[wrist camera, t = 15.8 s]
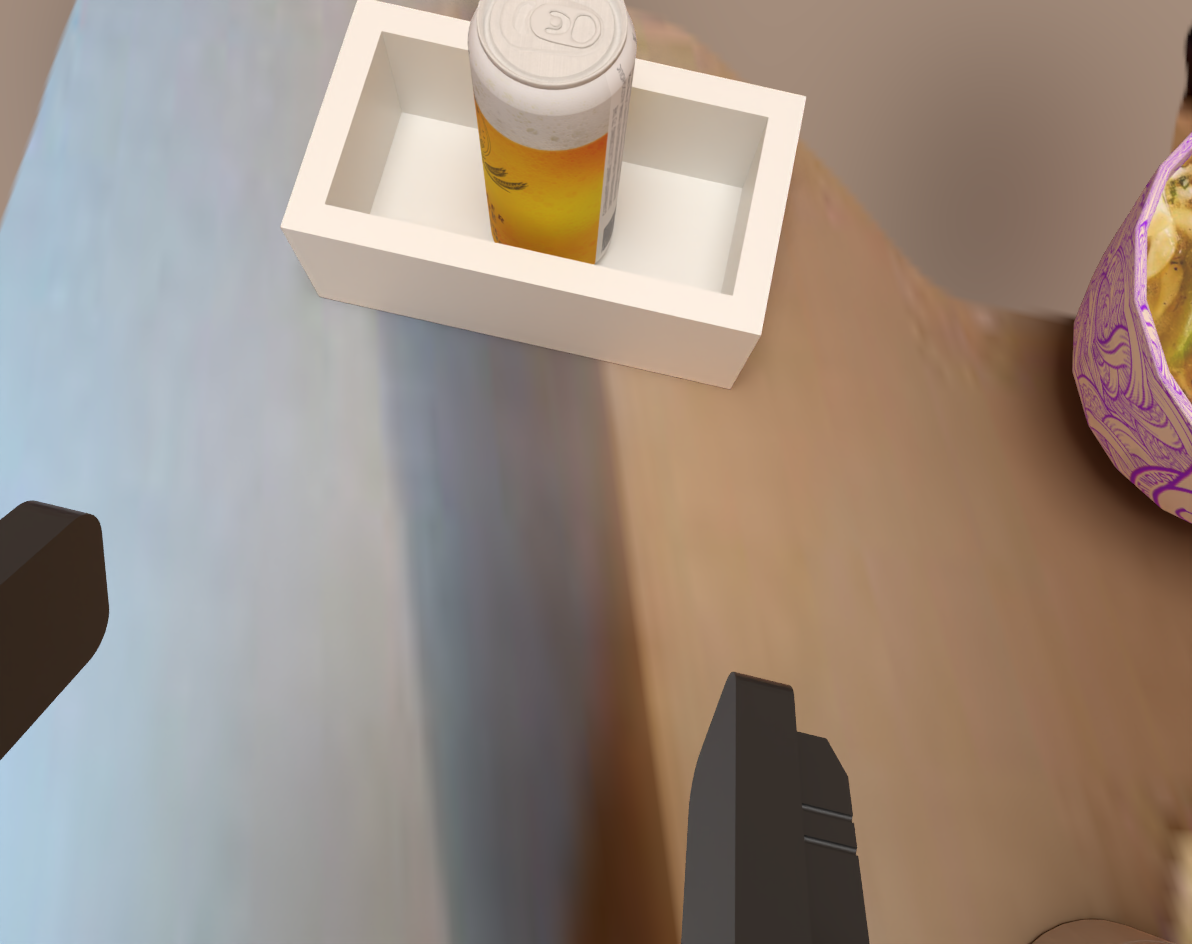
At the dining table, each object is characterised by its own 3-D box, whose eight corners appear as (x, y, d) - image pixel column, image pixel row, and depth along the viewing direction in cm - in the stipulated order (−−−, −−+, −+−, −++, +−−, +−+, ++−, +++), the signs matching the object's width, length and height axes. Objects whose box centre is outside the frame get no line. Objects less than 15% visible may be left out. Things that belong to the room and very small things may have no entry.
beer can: (507, 165, 48) (488, -70, 33) (623, 191, 48) (655, -33, 33) (478, 271, 46) (445, 73, 32) (598, 298, 46) (619, 112, 32)
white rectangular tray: (771, 179, 50) (806, 96, 43) (730, 389, 47) (760, 335, 40) (384, 93, 50) (358, -4, 43) (319, 296, 47) (280, 227, 40)
